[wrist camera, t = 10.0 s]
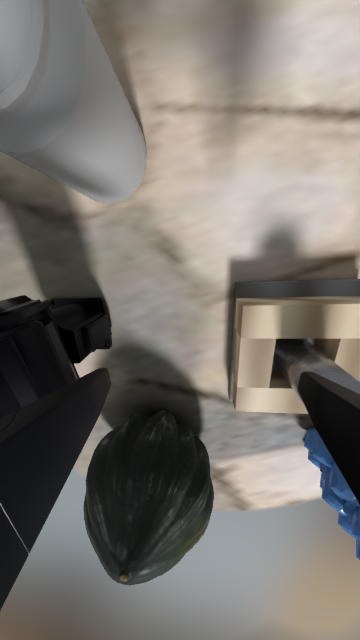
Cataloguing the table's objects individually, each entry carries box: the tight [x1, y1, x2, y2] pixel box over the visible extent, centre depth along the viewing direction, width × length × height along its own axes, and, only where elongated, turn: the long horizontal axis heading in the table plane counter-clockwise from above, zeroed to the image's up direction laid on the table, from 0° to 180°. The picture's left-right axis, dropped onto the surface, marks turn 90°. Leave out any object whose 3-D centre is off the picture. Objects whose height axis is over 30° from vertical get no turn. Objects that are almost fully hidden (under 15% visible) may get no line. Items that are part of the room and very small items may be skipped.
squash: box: [84, 410, 214, 585], centre depth 22 cm, size 14×15×15 cm
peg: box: [273, 339, 360, 404], centre depth 16 cm, size 4×4×10 cm
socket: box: [229, 279, 360, 414], centre depth 20 cm, size 12×15×4 cm
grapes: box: [304, 428, 360, 560], centre depth 20 cm, size 12×7×12 cm, turn 24°
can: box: [0, 0, 147, 204], centre depth 11 cm, size 8×8×12 cm
